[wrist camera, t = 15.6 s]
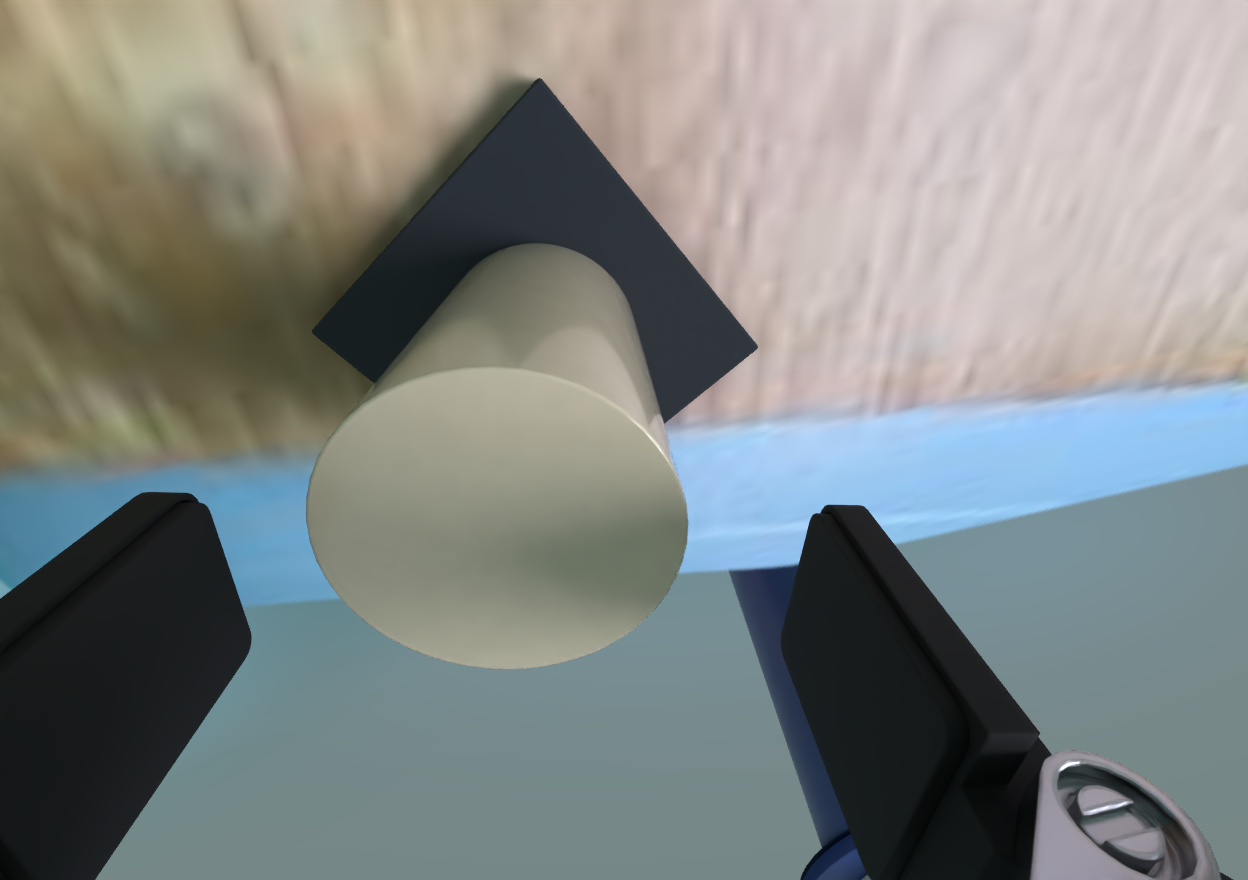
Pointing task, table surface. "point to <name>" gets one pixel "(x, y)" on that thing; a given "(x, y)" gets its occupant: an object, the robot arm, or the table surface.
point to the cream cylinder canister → (506, 474)
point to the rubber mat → (550, 214)
